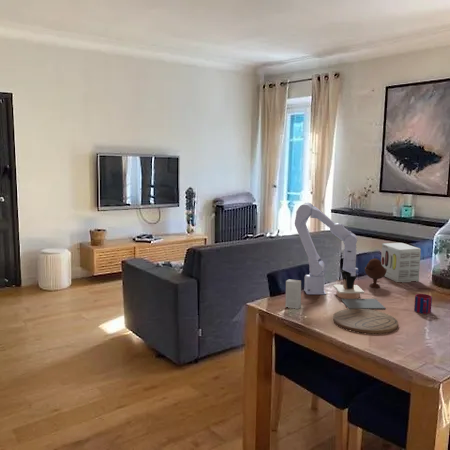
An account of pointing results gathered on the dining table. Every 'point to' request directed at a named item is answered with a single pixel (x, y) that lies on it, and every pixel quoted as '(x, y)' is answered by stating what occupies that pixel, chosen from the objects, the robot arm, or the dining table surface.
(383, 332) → the trivet
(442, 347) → the dining table surface
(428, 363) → the dining table surface
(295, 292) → the skincare box
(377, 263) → the ice cream bowl
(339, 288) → the cover
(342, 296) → the bowl
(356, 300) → the mat
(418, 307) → the mug
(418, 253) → the supplement box
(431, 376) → the dining table surface
